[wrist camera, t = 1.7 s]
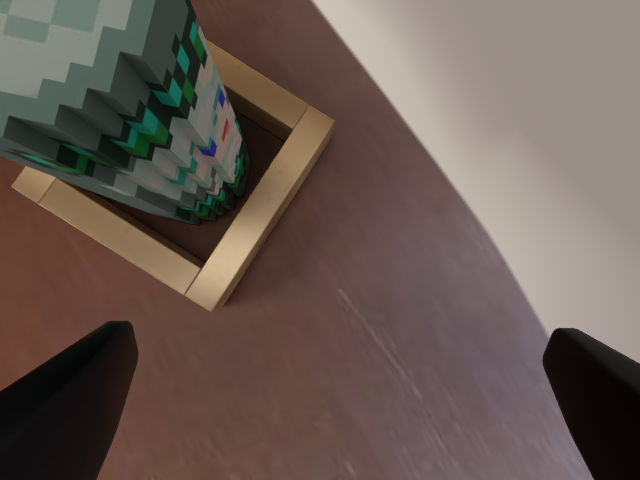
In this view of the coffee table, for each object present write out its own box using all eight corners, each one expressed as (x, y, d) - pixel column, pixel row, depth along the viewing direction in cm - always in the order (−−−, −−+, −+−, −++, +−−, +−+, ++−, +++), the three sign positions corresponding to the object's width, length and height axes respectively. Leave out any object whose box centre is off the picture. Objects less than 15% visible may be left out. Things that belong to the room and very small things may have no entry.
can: (235, 233, 22) (115, 160, 7) (124, 210, 22) (-232, 87, 7) (259, 127, 23) (190, -141, 8) (150, 103, 23) (-132, -219, 8)
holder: (222, 307, 22) (210, 313, 19) (48, 198, 22) (9, 186, 19) (330, 140, 23) (335, 120, 20) (164, 34, 23) (145, -1, 20)
